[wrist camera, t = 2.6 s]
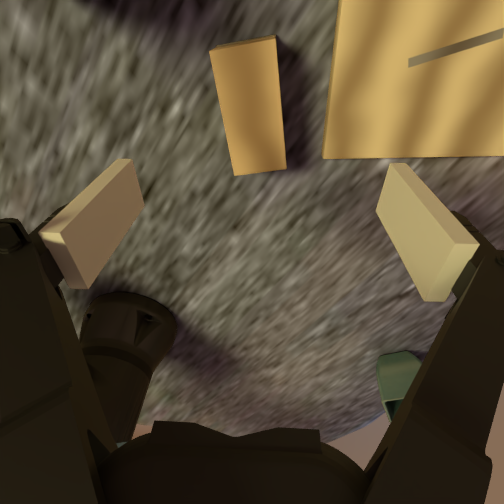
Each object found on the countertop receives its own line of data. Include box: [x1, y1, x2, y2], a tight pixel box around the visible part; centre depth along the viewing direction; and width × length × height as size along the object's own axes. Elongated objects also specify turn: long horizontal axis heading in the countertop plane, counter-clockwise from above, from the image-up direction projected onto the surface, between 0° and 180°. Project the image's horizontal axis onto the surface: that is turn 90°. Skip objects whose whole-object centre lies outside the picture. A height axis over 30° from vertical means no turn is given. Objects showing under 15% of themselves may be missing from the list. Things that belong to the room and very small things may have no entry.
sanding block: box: [209, 34, 287, 176], centre depth 27 cm, size 5×10×5 cm, turn 9°
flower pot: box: [376, 351, 422, 423], centre depth 51 cm, size 9×9×9 cm
